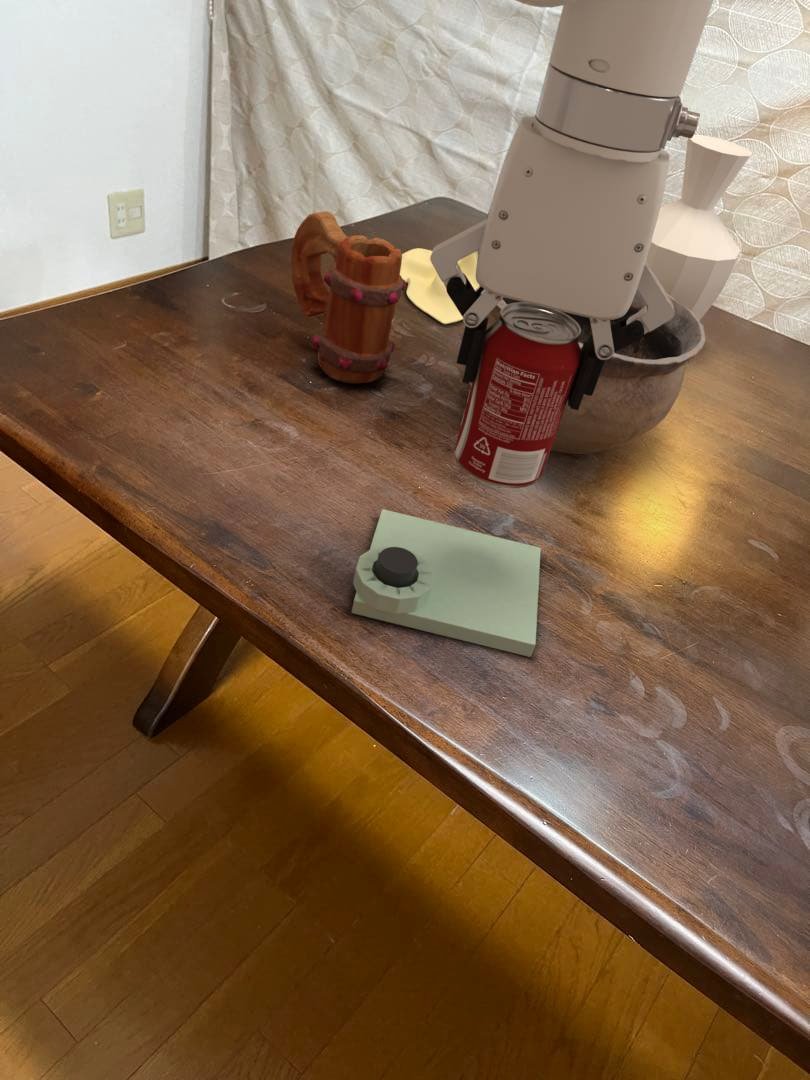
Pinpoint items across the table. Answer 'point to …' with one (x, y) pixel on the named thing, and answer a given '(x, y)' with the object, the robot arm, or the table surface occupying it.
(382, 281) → the mug
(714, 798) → the table surface
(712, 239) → the vase
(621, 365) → the ceramic bowl
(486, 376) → the soda can
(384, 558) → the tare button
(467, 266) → the cloth
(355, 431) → the table surface
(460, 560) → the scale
